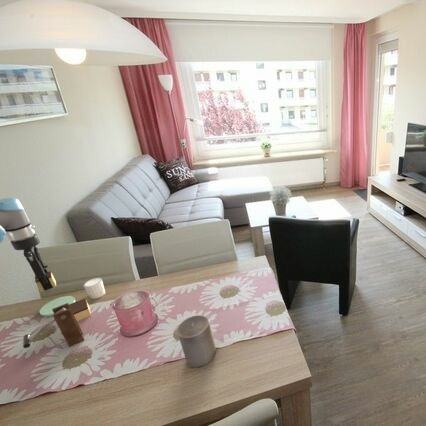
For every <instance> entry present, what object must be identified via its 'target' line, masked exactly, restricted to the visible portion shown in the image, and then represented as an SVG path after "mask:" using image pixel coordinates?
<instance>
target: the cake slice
mask: <svg viewBox="0 0 426 426" xmlns="http://www.w3.org/2000/svg"><path fill="white" fill-rule="evenodd" d="M45 274H47V276H48V278H49V280H50V282H51V284H52V286H53V288H55V287H57V281H56V279H55V276H54V274H53V272H52V271H51V270H50V271H48V272H46V273H45ZM35 277H36V275H35V276H34V282H35V284H36V285H37V288H38V290H39V291H40V292H45V290H44V289H43V287H42V285H41V283H40V281H39V279H35Z"/></svg>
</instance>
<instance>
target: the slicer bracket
mask: <svg viewBox="0 0 426 426" xmlns="http://www.w3.org/2000/svg"><path fill="white" fill-rule="evenodd" d="M63 307H64V308H66V310H64V311H61V312H59V313H56V312H58V311H59V310H60V309H62V308H63ZM52 311H53V312H54V315H53V316H52V318H54V319H55V324H56V325H57V326H58V328H59V330H60V332H61V334H62V336H63V338H64V340H65V342H66V343H67V345H68V347H69V348H71V347H73V346H76V345H78V344H80V343H83V342H84V341H85V337H84V332H83V330H82V328H81V326H80V324H79V321H77V320H76V318H75V316H74V314H73V312H72V310H71V308H70V306H69V304H68V303H66V304H64V305H61V306H59V307H56V308H53V309H52Z"/></svg>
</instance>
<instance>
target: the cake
mask: <svg viewBox="0 0 426 426" xmlns="http://www.w3.org/2000/svg"><path fill="white" fill-rule="evenodd" d="M69 306H70V308H71V310H72V312H73V314H74V316H75V318H76V320H77V322H79V321H81V320H84V319H86V318H88V317H91V316H92V312H91V308H90V305H89V303H88V300H87V298H82V299H79V300H76V301H75V302H74V303H72V304H69Z"/></svg>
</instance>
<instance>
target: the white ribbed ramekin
mask: <svg viewBox="0 0 426 426" xmlns="http://www.w3.org/2000/svg"><path fill="white" fill-rule="evenodd" d="M82 286H83V288H84V290H85V292H86V293H87V294H88V297H89V298H90V299H91V300H95V299H100V298H101V297H103V296H105V294H106V290H105V285H104V282H103V279H102V278H101V277H95V278H92V279H89V280H87V281H86V282H84V284H83V285H82Z"/></svg>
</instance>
